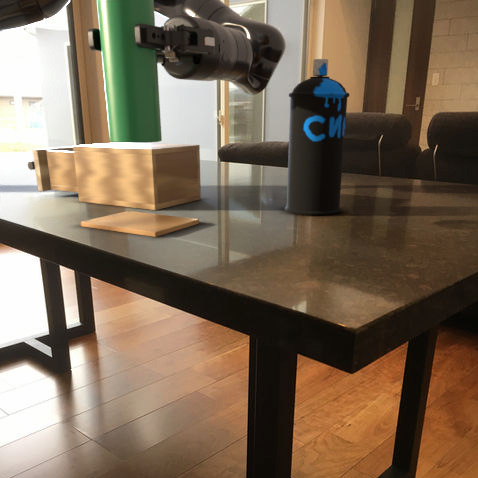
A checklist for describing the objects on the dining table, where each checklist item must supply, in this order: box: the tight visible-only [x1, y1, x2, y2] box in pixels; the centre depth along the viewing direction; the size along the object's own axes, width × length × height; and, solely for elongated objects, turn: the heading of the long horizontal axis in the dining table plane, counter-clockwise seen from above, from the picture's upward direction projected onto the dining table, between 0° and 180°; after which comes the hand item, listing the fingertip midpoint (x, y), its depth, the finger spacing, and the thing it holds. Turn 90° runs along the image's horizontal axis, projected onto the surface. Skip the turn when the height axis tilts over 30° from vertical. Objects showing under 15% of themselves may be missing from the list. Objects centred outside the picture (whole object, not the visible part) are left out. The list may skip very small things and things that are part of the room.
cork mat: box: [80, 210, 200, 238], centre depth 66 cm, size 12×9×1 cm
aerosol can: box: [284, 58, 350, 216], centre depth 73 cm, size 8×8×20 cm
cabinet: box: [72, 142, 202, 211], centre depth 83 cm, size 16×12×9 cm
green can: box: [96, 0, 163, 143], centre depth 60 cm, size 6×6×16 cm
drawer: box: [27, 145, 78, 193], centre depth 89 cm, size 19×11×7 cm, turn 60°
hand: (114, 37), depth 57 cm, fingers closed on green can, 6 cm apart
